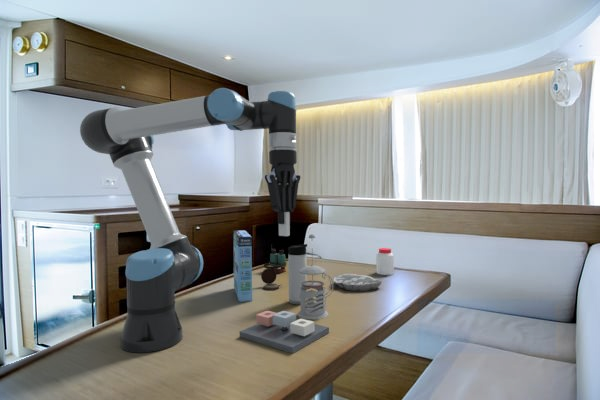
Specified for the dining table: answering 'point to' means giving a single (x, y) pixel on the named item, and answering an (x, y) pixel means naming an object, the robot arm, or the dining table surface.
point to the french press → (313, 293)
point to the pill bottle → (385, 262)
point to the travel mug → (296, 271)
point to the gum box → (243, 265)
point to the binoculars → (277, 261)
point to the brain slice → (356, 282)
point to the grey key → (284, 319)
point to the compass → (269, 279)
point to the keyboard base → (282, 336)
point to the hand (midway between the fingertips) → (284, 235)
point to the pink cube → (265, 318)
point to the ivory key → (302, 327)
